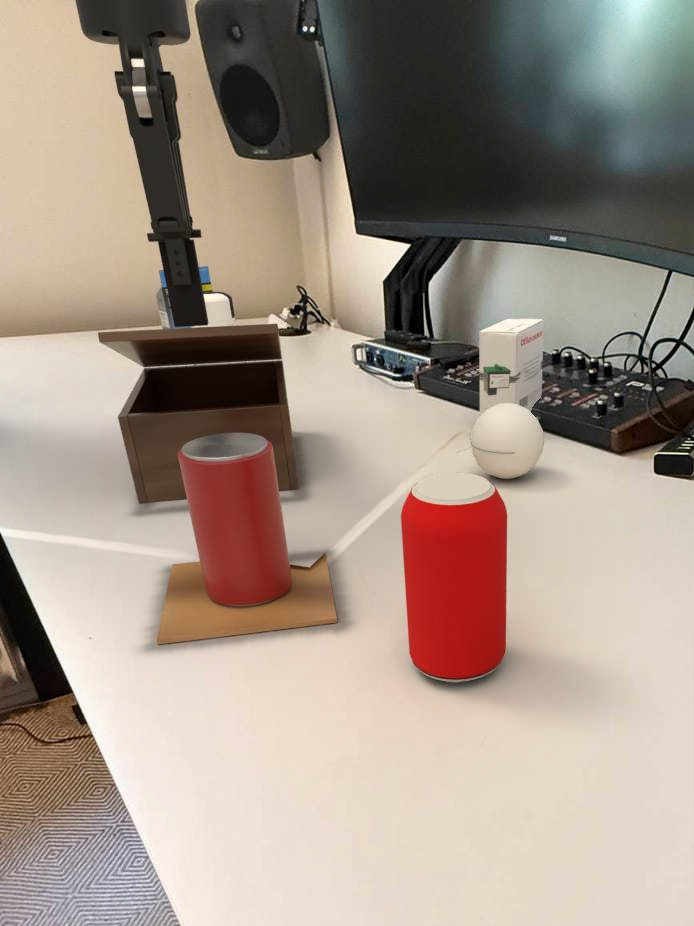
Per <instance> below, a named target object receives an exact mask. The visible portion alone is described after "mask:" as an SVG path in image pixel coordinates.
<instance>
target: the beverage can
mask: <svg viewBox="0 0 694 926" xmlns="http://www.w3.org/2000/svg"><path fill="white" fill-rule="evenodd" d="M400 525H401V542H402V559H403V572H404V588H405V591H404V592H405V605H406V606H405V607H406V620H407V622H406V623H407V635H408V636H407V637H408V638H407V639H408V652H409V656H410V659H411V662H412V664H413V666H414V667H415V669H416V670H417V671H419V672H420V673H421V674H423V675H425V676H427V677H428V678H430V679H433V680H437V681H441V682H447V683H465V682H470V681H473V680H477V679H478V680H479V679H481V678H483V677H486V676H488V675H489V674H491V673H492V672H494V671H495V670H496V669H497V668H498V667H499V665H500V664H501V662H502V661H503V659H504V657H505V655H506V652H507V591H508V590H507V588H508V587H507V581H508V579H507V578H508V577H507V576H508V574H507V573H508V511H507V506H506V504H505V501H504V500H503V498H502V496H501V494H500V492H499V491H498V489H497V487H496V486H495V484H494V483H493V482H491V481H490V480H488V479H487V478H485V477H483V476H480V475H476V474H472V473H465V472H445V473H438V474H433V475H430V476H426V477H424V478H422V479H420V480H419V481H418V482H416V483H415V484H414V485H413V486H412V487H411V489H410V491H409V492H408V495H407V497H406V498H405V501H404V502H403V504H402V509H401V513H400Z"/></svg>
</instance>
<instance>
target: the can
mask: <svg viewBox="0 0 694 926" xmlns="http://www.w3.org/2000/svg"><path fill="white" fill-rule="evenodd" d="M178 458H179V463H180V468H181V473H182V477H183V482H184V487H185V492H186V497H187V500H186V501H187V506H188V510H189V515H190V520H191V524H192V531H193V534H194V540H195V544H196V549H197V554H198V559H199V562H200V564H201V568H202V573H203V578H204V583H205V588H206V592H207V595H208V596H209V597H210V598H211V599H212V600H214V601H216V602H218V603H220V604H223V605H226V606H232V607H249V606H256V605H261V604H264V603H267V602H270V601H273V600H275V599H277V598H279V597H280V596H282V595H283V594H284V593H285V592H286V591H287V590H288V589H289V588H290V586H291V584H292V577H291V570H290V565H291V563H290V556H289V550H288V543H287V538H286V530H285V523H284V516H283V515H284V514H283V509H282V502H281V495H280V491H279V487H278V480H277V473H276V466H275V460H274V453H273V446H272V444H271V442H269V441H268V440H266V439H265V438H264V437H262V436H259V435H255V434H249V433H222V434H214V435H209V436H204V437H200V438H197V439H194V440H192V441H190V442H188V443H186V444H185V445H184V446H183V447H182V449H180V451H179V452H178Z"/></svg>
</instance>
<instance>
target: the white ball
mask: <svg viewBox="0 0 694 926" xmlns="http://www.w3.org/2000/svg"><path fill="white" fill-rule="evenodd" d="M470 434H471V435H470V438H469V440H470V446H469V447H466V448H463V449H460V450H457V451H456V452H455V454H457V453H461V452H463V451H466V450H468V449H471V451H472V455H473V457H474V460H475V461H476V463H477V465H478V466H479V467H480V468H481V469H482V470H483V471H484V472H486V473H487V474H488V475H490V476H493V477H496V478H499V479H503V480H512V479H516V478H518V477H522V476H524V475H526V474H527V473H528V472H530V471H531V470H532V469H533V468H534V467H536V465H537V463H538V461H539V459H540V458H541V456H542V454H543V450H544V445H545V437H544V436H545V435H544V430H543V428H542V426H541V423H540V422H539V420H538V419H537V418H536V417H535V416H534V415H533V414H532V413H531V412H530V411H529V410H528V409H526V408H524V407H522V406H520V405H518V404H514V403H501V404H498V405H496V406H493V407H491V408H489V409H487V410H486V411H485V412H484V413H483V414H482V415H481V416H480V415H479V417H478V418H477V419H476V421H475V423H474V425H473V428H472V429H471V433H470Z"/></svg>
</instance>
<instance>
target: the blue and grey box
mask: <svg viewBox="0 0 694 926" xmlns="http://www.w3.org/2000/svg"><path fill="white" fill-rule="evenodd" d="M199 272H200V277H201V283H202V289H203V292H214V290H213V285H212V282H211V277H210V276H211V275H210V269H209V266H208V265H204V266H199ZM158 274H159V279H160V285H161V286H160V288H159V290H158V291H157V293H156V294H155V297H156V303H157V307H158V312H159V317H160V323H161V328H162V329H176V328H191V327H194V326H184V327H175V326H174V321H173V316H172V311H171V306H170V301H169V296H168V291H167V286H166V280H165V275H164V270H163V269H159V270H158Z"/></svg>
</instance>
